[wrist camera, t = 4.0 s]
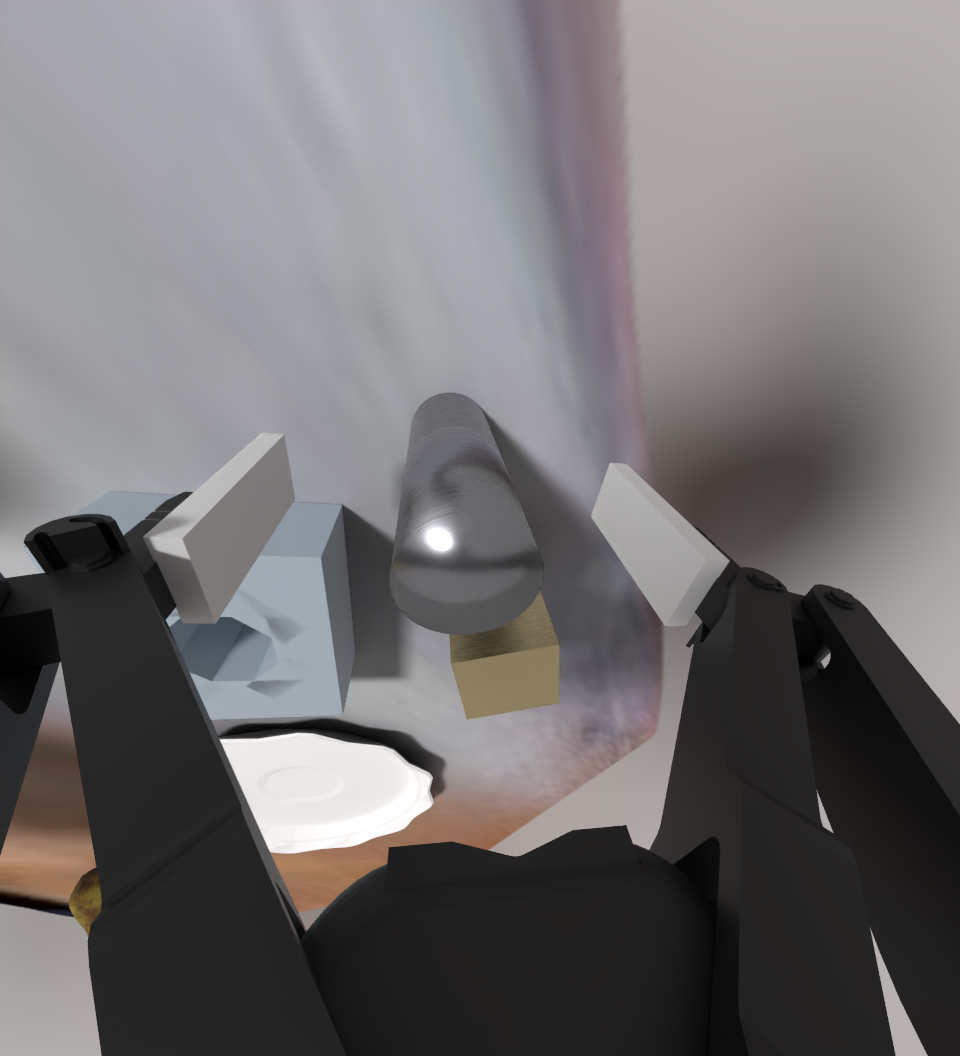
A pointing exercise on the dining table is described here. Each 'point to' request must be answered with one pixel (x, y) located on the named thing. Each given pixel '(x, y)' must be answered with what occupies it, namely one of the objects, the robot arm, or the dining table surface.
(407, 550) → the round bit
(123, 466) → the dining table surface
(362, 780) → the plate
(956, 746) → the robot arm
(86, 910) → the potato
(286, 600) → the bore block
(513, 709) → the square bit
